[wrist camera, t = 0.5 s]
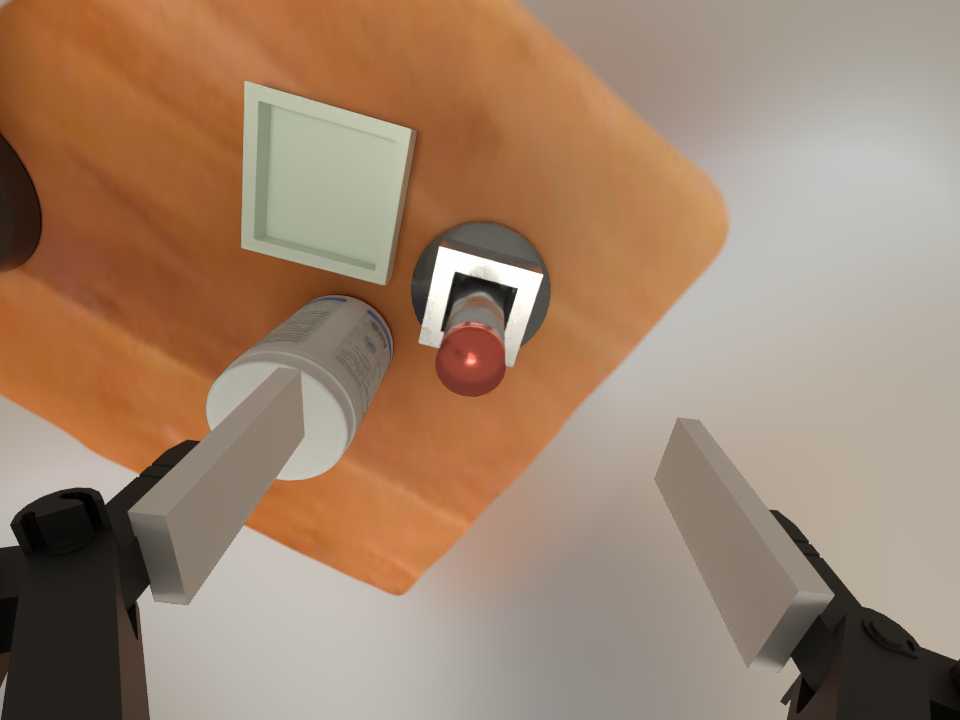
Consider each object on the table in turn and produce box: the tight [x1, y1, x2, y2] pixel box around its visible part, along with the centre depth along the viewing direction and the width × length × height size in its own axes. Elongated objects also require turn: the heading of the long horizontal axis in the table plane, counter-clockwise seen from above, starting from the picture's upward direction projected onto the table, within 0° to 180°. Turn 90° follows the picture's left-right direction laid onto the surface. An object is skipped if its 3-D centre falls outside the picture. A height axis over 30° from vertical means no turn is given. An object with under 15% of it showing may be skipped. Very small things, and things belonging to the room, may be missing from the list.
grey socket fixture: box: [411, 221, 550, 367], centre depth 36 cm, size 12×12×6 cm
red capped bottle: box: [436, 275, 506, 397], centre depth 31 cm, size 4×4×14 cm
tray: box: [241, 81, 417, 286], centre depth 34 cm, size 12×12×2 cm
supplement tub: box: [206, 295, 393, 480], centre depth 34 cm, size 10×10×15 cm
